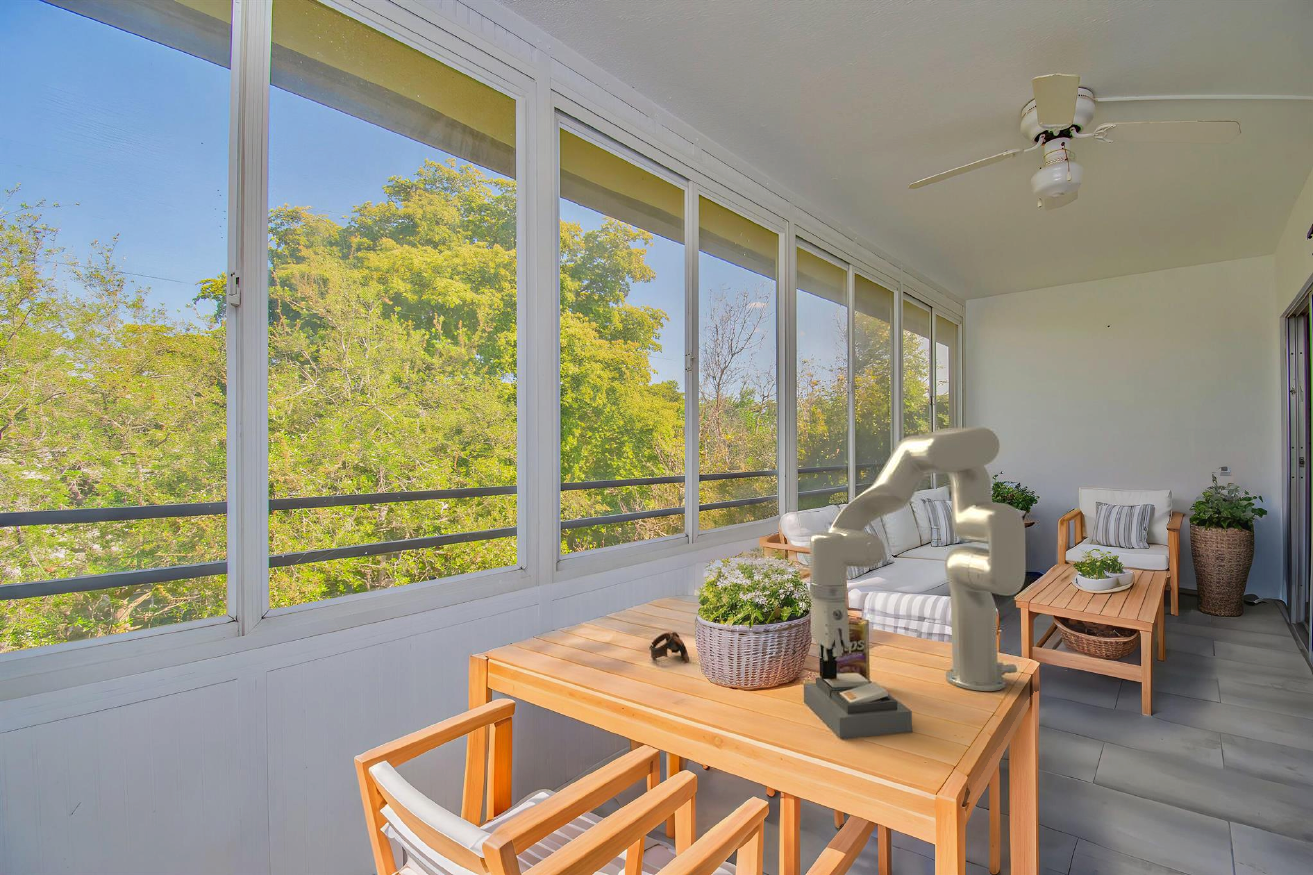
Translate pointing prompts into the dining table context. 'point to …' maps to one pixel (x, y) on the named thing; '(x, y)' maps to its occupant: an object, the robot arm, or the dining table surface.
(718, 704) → the dining table surface
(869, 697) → the rocker
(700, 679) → the dining table surface
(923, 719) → the dining table surface
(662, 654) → the dark brown arched loop
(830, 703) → the switch panel
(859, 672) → the candy box
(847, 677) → the rocker
